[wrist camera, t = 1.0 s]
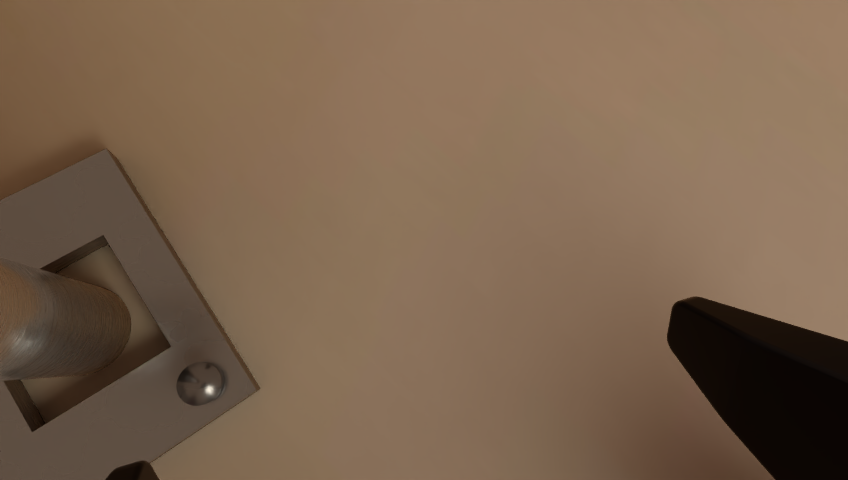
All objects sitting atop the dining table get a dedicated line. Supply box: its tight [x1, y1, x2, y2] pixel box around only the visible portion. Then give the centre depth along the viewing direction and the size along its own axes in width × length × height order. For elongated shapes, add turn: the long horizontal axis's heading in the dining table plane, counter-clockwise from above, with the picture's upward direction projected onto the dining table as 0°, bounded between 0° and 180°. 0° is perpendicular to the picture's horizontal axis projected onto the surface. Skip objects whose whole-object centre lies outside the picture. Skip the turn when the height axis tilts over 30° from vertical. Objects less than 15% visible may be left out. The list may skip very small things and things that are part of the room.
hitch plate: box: [0, 149, 260, 480], centre depth 19 cm, size 12×9×2 cm
